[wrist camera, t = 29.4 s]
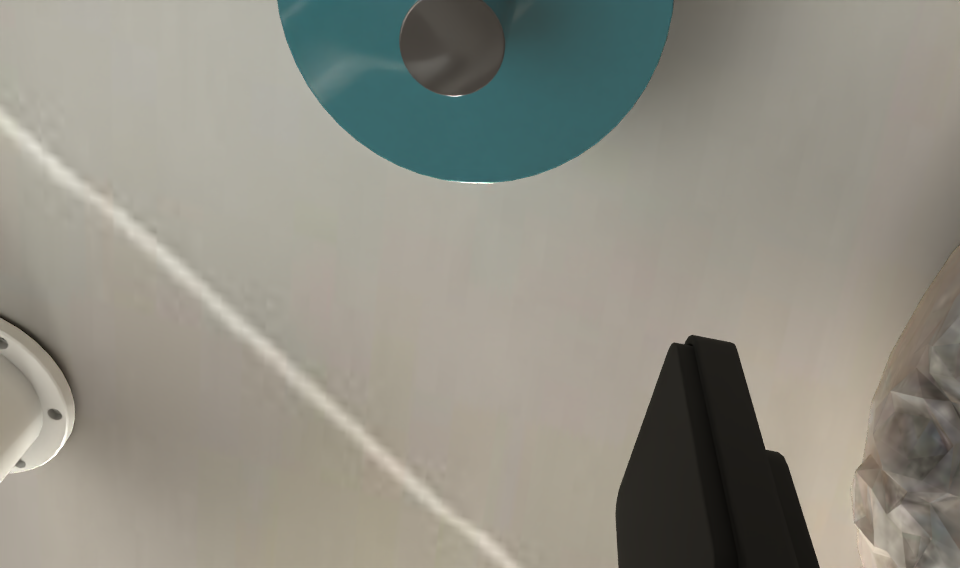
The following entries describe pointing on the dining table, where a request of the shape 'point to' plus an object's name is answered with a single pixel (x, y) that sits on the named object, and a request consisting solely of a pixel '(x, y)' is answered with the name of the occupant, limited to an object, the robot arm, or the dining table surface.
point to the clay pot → (915, 441)
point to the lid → (477, 77)
